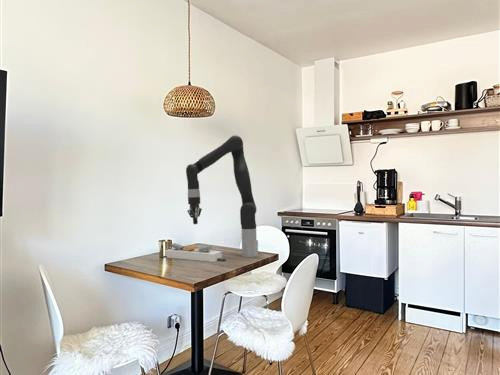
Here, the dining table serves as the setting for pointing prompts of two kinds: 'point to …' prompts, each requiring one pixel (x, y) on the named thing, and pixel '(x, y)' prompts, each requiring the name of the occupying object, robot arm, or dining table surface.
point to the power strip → (194, 254)
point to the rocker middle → (190, 247)
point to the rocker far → (177, 246)
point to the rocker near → (205, 248)
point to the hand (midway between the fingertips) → (195, 224)
